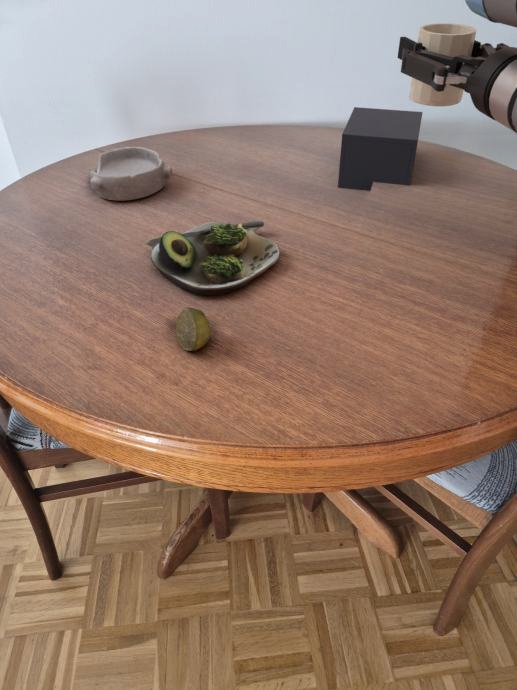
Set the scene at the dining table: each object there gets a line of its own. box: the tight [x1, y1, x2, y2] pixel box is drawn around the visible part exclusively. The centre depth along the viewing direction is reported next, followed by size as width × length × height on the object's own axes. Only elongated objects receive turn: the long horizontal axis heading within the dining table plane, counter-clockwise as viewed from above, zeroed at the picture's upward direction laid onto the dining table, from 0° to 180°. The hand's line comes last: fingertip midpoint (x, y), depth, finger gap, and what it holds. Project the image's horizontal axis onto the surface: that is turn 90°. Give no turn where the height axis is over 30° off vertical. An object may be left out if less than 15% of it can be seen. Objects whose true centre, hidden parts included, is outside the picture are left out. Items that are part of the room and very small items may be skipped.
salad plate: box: [145, 220, 281, 297], centre depth 80 cm, size 19×18×5 cm
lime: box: [175, 307, 212, 352], centre depth 64 cm, size 4×5×5 cm
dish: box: [89, 146, 173, 202], centre depth 99 cm, size 14×14×5 cm
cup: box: [408, 22, 477, 107], centre depth 77 cm, size 7×7×9 cm
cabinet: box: [337, 106, 423, 191], centre depth 99 cm, size 15×13×10 cm
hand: (427, 45), depth 79 cm, fingers closed on cup, 7 cm apart
